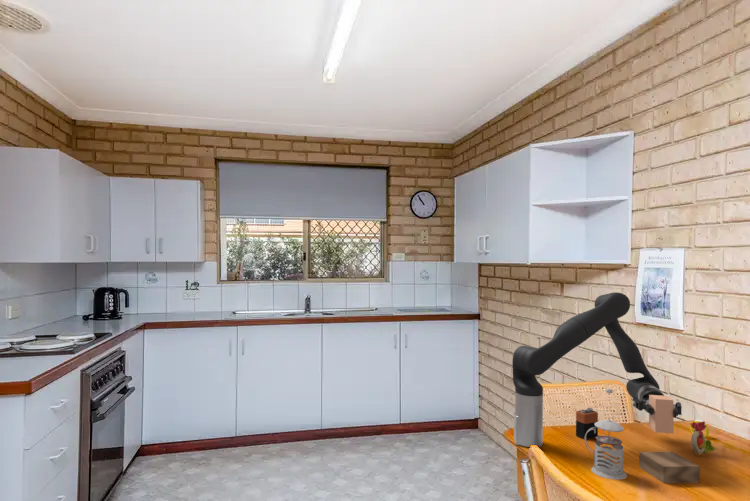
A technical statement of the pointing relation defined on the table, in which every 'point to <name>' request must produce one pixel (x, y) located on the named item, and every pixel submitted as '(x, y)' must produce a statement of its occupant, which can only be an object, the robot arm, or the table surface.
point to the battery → (586, 423)
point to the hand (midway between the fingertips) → (663, 412)
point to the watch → (705, 428)
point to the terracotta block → (661, 414)
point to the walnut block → (669, 467)
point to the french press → (608, 451)
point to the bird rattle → (700, 439)
